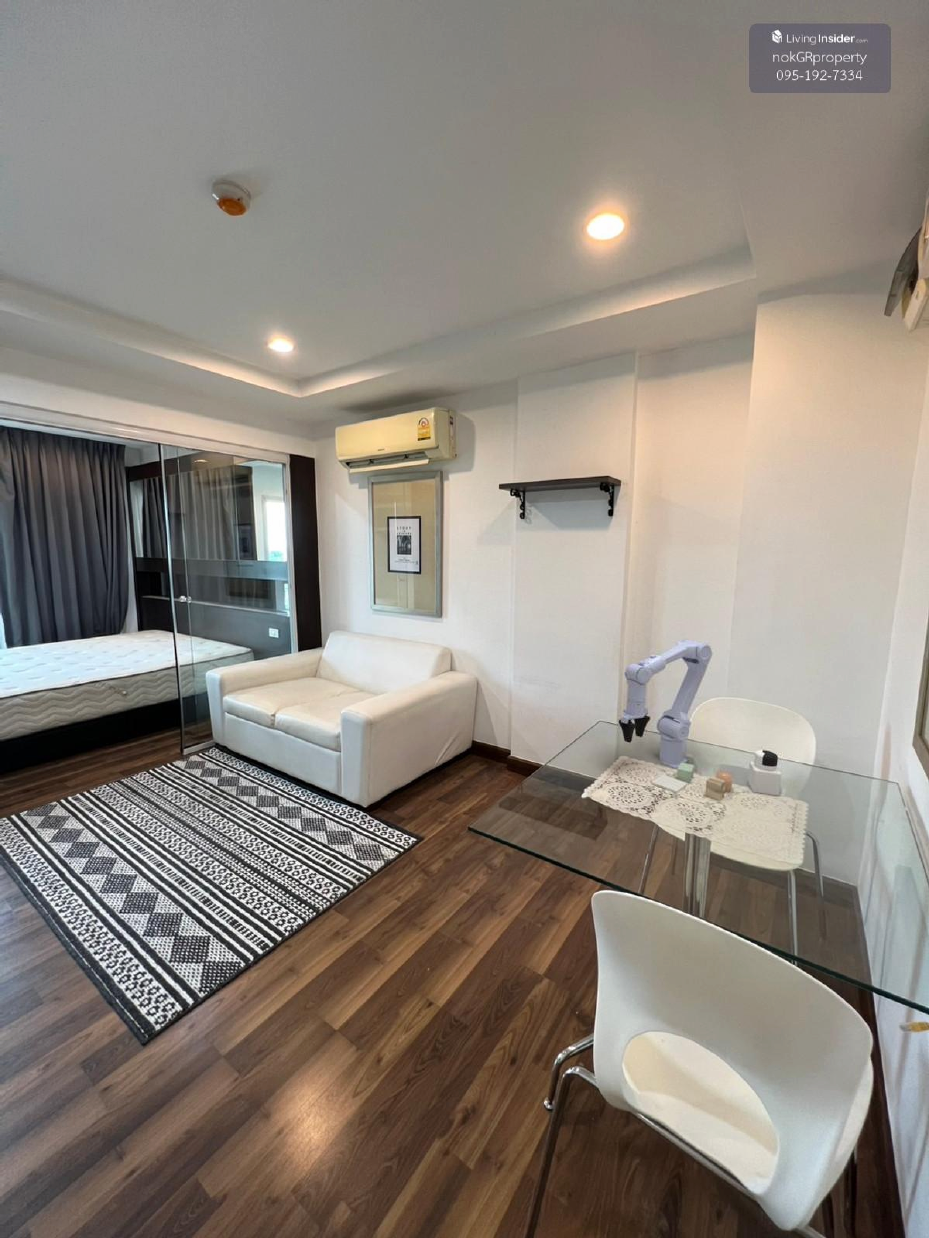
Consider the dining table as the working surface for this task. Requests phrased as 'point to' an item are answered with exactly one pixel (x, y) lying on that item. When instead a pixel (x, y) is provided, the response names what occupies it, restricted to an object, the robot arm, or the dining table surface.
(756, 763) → the medicine bottle
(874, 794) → the dining table surface
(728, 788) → the terracotta cylinder
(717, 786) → the maple block
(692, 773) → the green block
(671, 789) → the coaster
